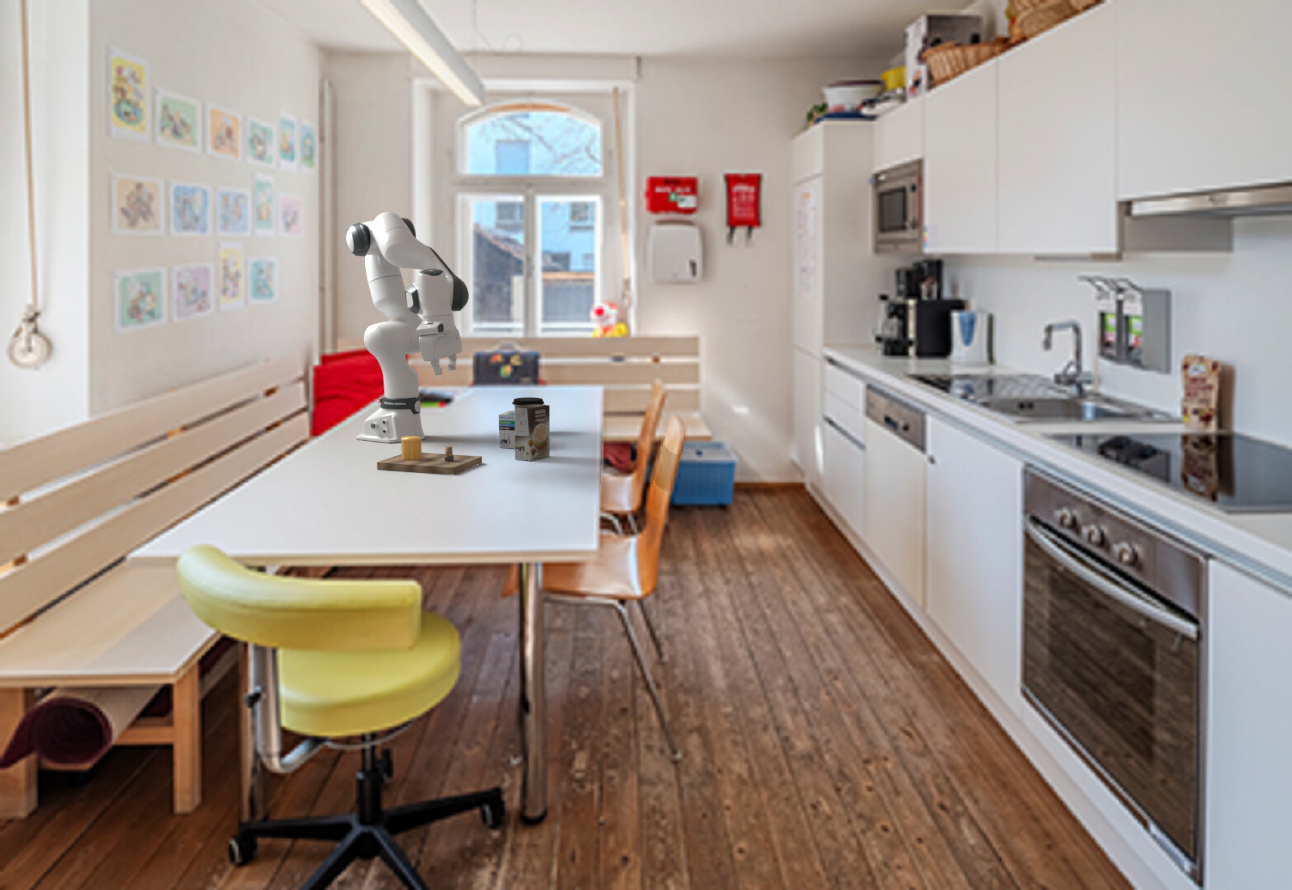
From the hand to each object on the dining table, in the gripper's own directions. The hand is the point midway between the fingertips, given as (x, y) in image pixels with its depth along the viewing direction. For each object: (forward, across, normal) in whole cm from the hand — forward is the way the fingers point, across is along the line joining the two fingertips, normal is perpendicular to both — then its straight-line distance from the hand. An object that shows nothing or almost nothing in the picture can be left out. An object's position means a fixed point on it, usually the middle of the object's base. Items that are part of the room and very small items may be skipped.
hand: (445, 372), depth 301 cm
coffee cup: (+30, -52, +2) cm, 60 cm away
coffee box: (+29, -9, +20) cm, 36 cm away
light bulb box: (+29, -27, +7) cm, 40 cm away
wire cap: (+23, +11, -9) cm, 27 cm away
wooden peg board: (+25, +11, -4) cm, 28 cm away
